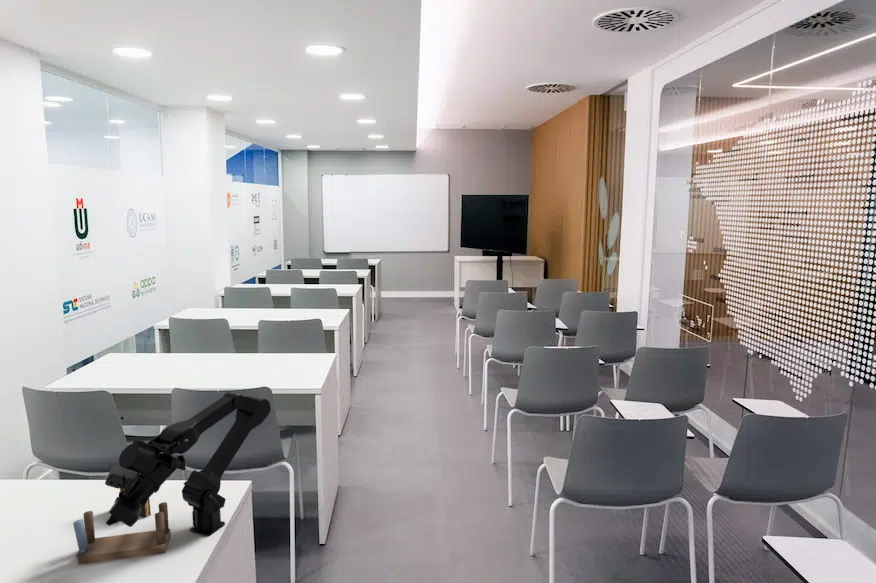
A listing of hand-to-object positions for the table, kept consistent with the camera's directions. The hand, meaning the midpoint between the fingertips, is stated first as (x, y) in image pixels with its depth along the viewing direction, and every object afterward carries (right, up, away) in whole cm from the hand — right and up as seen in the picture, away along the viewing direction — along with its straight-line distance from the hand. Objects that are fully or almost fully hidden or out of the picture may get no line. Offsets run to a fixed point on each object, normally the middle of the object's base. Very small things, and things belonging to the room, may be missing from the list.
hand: (107, 523), depth 144 cm
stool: (+2, -8, +4) cm, 9 cm away
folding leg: (-5, -6, -1) cm, 8 cm away
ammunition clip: (-5, -6, +23) cm, 24 cm away
